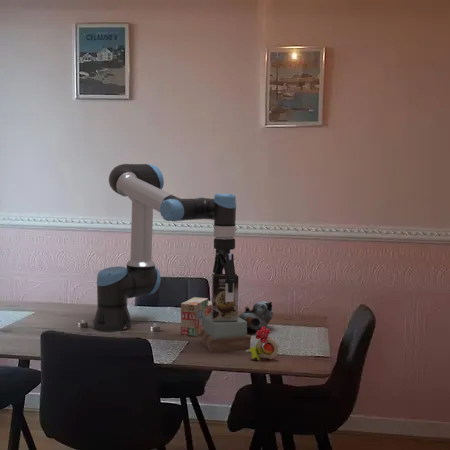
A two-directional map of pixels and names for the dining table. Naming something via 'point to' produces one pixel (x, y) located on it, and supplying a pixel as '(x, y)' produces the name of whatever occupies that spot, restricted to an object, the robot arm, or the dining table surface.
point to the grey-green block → (224, 328)
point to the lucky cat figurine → (258, 315)
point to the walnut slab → (225, 343)
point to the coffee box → (223, 300)
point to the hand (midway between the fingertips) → (223, 297)
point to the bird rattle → (268, 348)
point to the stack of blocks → (194, 315)
